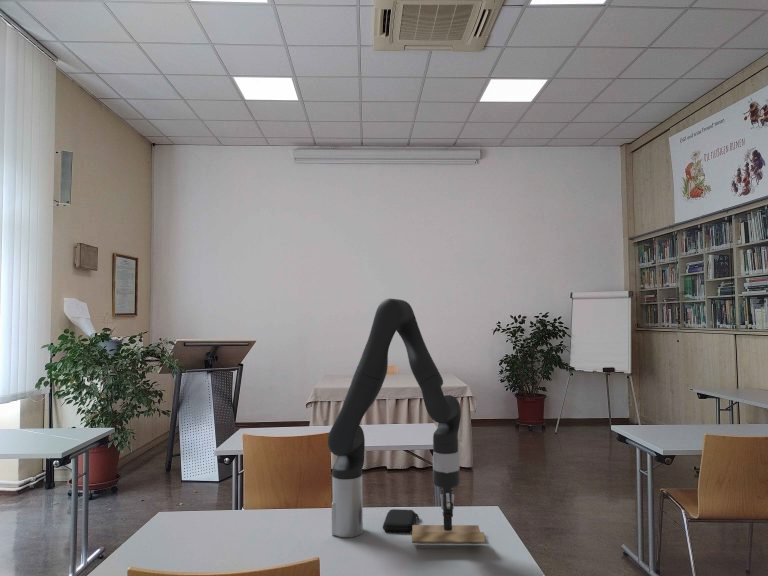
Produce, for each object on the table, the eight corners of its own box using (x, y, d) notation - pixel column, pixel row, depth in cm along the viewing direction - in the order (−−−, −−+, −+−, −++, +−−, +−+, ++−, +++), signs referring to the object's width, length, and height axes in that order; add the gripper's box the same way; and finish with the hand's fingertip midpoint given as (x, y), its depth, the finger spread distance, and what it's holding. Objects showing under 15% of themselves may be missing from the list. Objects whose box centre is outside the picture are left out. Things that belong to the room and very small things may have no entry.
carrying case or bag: (416, 535, 164) (420, 517, 179) (416, 525, 164) (419, 508, 179) (381, 534, 166) (388, 516, 180) (381, 524, 166) (388, 507, 180)
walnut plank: (412, 541, 159) (412, 532, 159) (412, 533, 165) (412, 525, 165) (480, 541, 158) (480, 533, 158) (478, 533, 164) (478, 525, 164)
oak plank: (412, 541, 150) (412, 531, 151) (412, 542, 157) (412, 533, 158) (484, 541, 149) (483, 532, 150) (481, 543, 156) (480, 534, 157)
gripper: (432, 461, 160) (433, 520, 159) (433, 474, 147) (435, 539, 146) (457, 461, 160) (459, 520, 159) (461, 473, 147) (463, 539, 146)
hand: (447, 529), depth 152 cm, fingers closed
